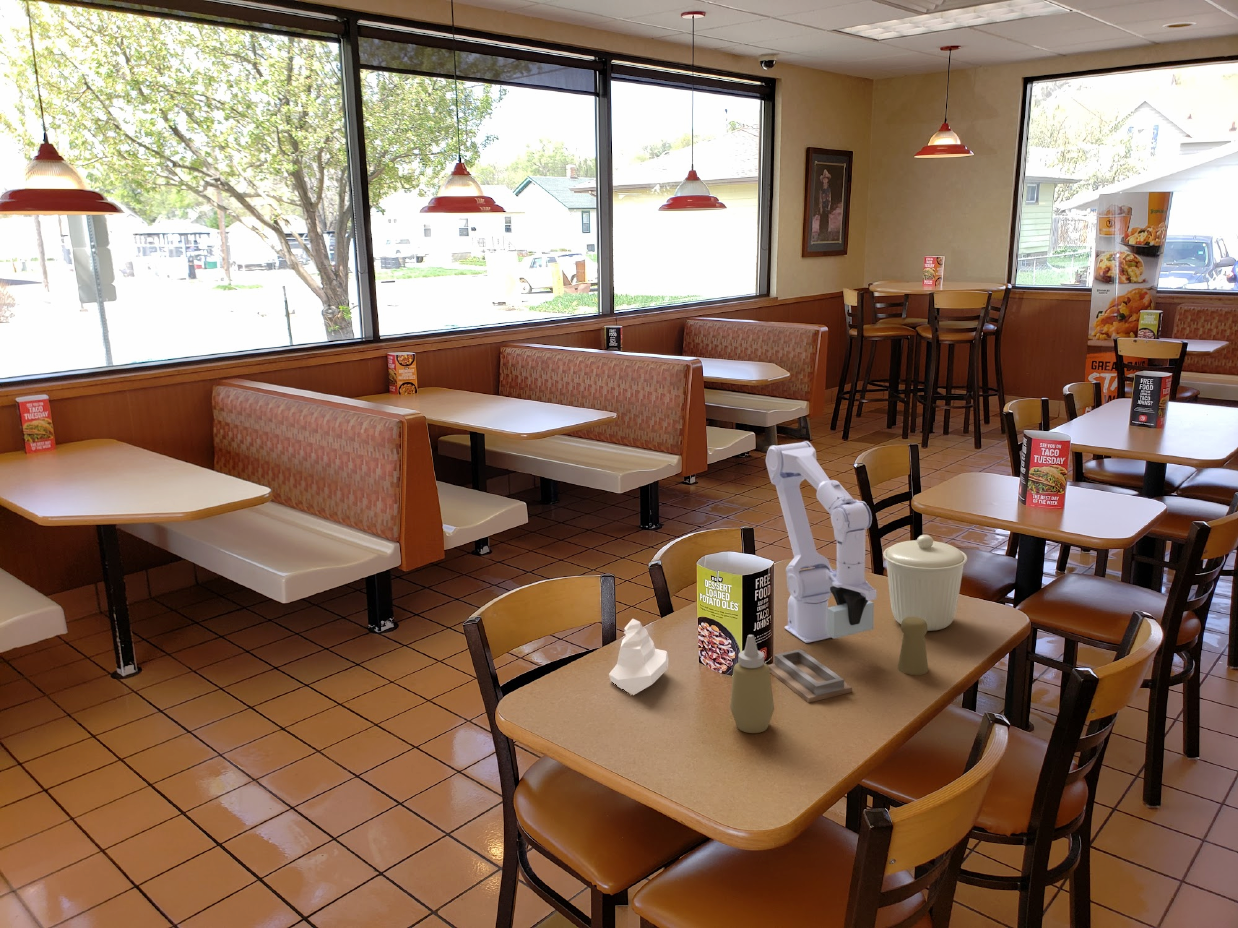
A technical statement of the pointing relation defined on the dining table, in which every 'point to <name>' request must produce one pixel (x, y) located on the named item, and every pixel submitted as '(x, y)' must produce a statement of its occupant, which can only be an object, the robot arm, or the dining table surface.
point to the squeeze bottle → (751, 690)
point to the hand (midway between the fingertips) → (850, 621)
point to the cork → (913, 647)
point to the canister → (924, 580)
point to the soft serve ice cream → (638, 660)
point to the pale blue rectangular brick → (840, 620)
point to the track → (807, 676)
